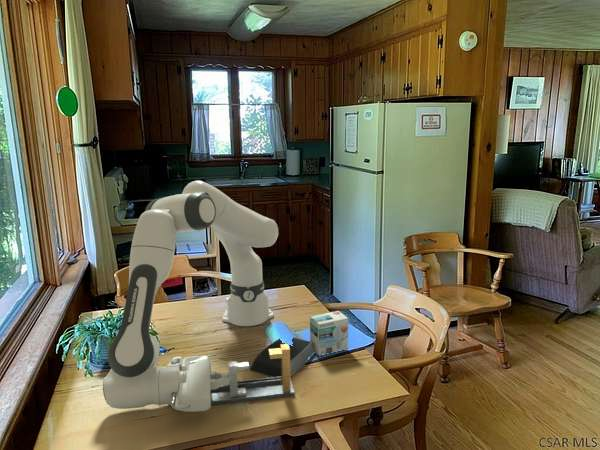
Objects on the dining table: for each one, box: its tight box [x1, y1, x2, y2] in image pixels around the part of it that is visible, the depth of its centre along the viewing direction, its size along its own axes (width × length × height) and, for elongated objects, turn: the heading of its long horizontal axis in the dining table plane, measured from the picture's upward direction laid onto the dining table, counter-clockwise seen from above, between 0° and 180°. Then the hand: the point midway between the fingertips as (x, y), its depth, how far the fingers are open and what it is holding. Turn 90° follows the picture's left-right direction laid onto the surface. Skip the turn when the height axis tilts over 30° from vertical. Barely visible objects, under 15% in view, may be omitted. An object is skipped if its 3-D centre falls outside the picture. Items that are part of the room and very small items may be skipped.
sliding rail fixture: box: [211, 344, 296, 407], centre depth 117 cm, size 7×24×13 cm, turn 101°
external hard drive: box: [249, 337, 315, 377], centre depth 135 cm, size 13×19×4 cm
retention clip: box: [228, 361, 250, 398], centre depth 116 cm, size 2×5×9 cm, turn 101°
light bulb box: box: [309, 310, 350, 356], centre depth 141 cm, size 11×7×11 cm, turn 114°
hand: (229, 378), depth 115 cm, fingers closed, pressing on retention clip
